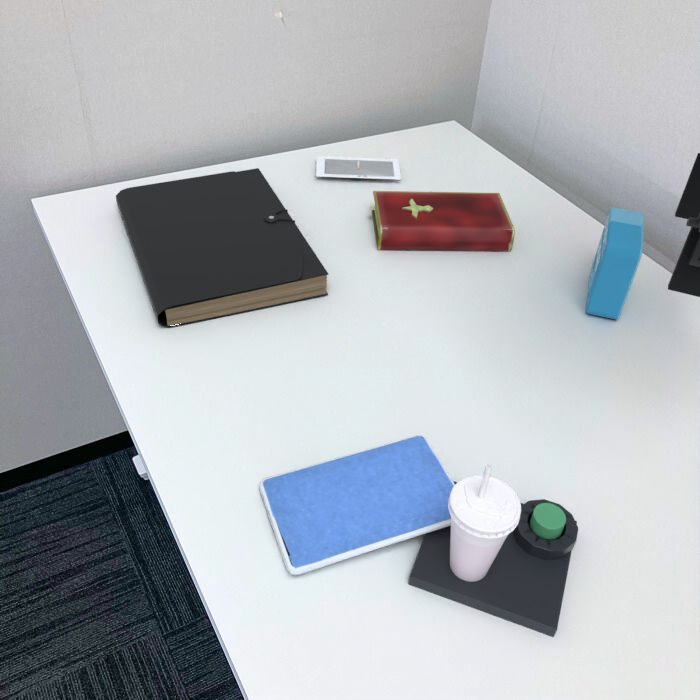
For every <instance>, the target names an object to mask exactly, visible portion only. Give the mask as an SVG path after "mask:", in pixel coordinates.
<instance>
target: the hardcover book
mask: <svg viewBox="0 0 700 700" xmlns="http://www.w3.org/2000/svg"><path fill="white" fill-rule="evenodd" d="M372 194H373V200H374V209H371V216H372V222H373V223H372V224H373V230H374V236H375V242H376V243H375V244H376V248H377V249H376V250H377V251H420V252H421V251H423V252H425V251H427V252H429V251H430V252H505V253H507V252H511V251H512V249H513V245H514V240H515V234H516V228H515V227H514V224H513V222H512V219H511V217H510V215H509V213H508V210H507V208H506V206H505V203H504V200H503V199H502V195H501V194H500V192H465V191H464V192H463V191H462V192H461V191H458V192H457V191H410V190H409V191H408V190H407V191H405V190H404V191H403V190H402V191H401V190H373V191H372Z"/></svg>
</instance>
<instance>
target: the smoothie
mask: <svg viewBox="0 0 700 700" xmlns="http://www.w3.org/2000/svg"><path fill="white" fill-rule="evenodd" d="M492 471H493V464H491V463H486V464H485V466H484V469H483V473H482V474H474V475H469V476H465V477H463V478H462V479H460V480H459V481H456V482H457V483H456V484H455V485H454V487H453V489H452V491H451V494H450V497H449V499H448V509H449V512H450V515H451V536H450V567H451V569H452V571H453V573H454V574H455V575H456V576H457V577H459V578H460V579H462V580H465V581H470V582H474V581H478V580H481V579H482V578H483V577H485V575H486V574H487V572H488V570H489V568H490V566H491V565H492V563H493V561H494V559H495V557H496V555H497V554H498V552H499V550H500V548H501V546H502V545H503V543H504V541H505V539H506V537H507V536H508V534H509V533H511V532H512V531H513V530H514V529H515V528H516V526H517V525H518V523H519V519H520V514H521V503H522V502H521V500H520V498H519V496H518V494H517V492H516V491H515V489H513V488H512V487H511V486H510V485H509V484H508V483H506V482H505V481H503V480H501V479H499V478H496V477H495V476H491V474H492V473H491V472H492Z"/></svg>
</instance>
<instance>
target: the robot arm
mask: <svg viewBox="0 0 700 700" xmlns="http://www.w3.org/2000/svg"><path fill="white" fill-rule="evenodd" d="M674 217H675V218H680V219H683V220H686V224H685V226H686V227H689V228H690V229H689V232H688V233H687V237H686V239H685V241H684V244H683V246H682V249H681V251H680V254H679V257H678V259H677V261H676V264H675V267H674V269H673V272H672V274H671V277H670V279H669V282H668V284H667V290H668V291H672V292H676V293H681V294H686V295H689V296H693V297H698V298H700V152H698V153H697V155H696V157H695V160H694V162H693V165H692V167H691V170H690V173H689V175H688V179H687V181H686V183H685V187H684V189H683V192H682V194H681V197H680V200H679V202H678V205H677V208H676V210H675V213H674Z"/></svg>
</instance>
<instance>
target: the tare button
mask: <svg viewBox="0 0 700 700" xmlns="http://www.w3.org/2000/svg"><path fill="white" fill-rule="evenodd" d="M565 523H566V516H565V513H564V512H563V511H562V509H561V508H559V507H558V506H556V505H554V504H551V503H541V504H539V505H537V506H536V507H535V508H534V511H533V514H532V517H531V520H530V526H531V529H532V531H533V532H534V533H535V534H536V535H537V536H539V537H541V538H544V539H555V538H557V537H559V536H560V535H561V533H562V531H563V528H564V525H565Z"/></svg>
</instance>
